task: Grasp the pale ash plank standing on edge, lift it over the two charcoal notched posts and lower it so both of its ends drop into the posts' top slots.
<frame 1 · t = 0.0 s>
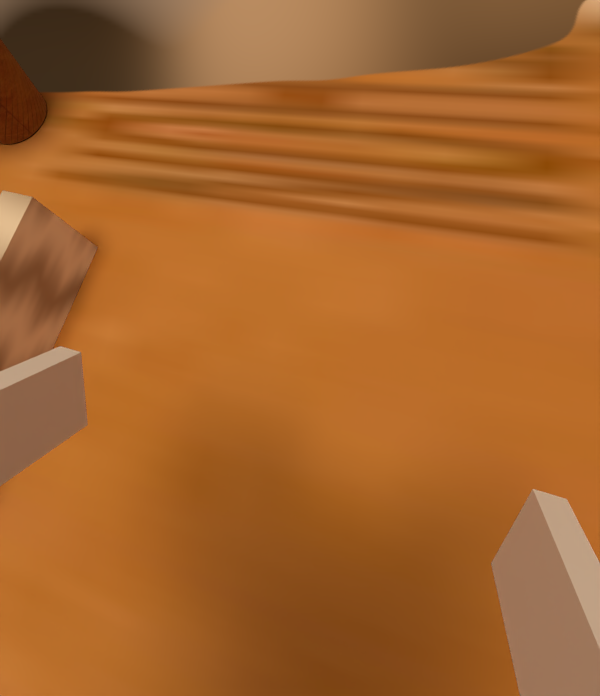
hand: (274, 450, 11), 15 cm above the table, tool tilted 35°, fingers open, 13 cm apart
disposable coffee cup: (19, 119, 36), on the table
ash rail plank: (26, 378, 30), on the table
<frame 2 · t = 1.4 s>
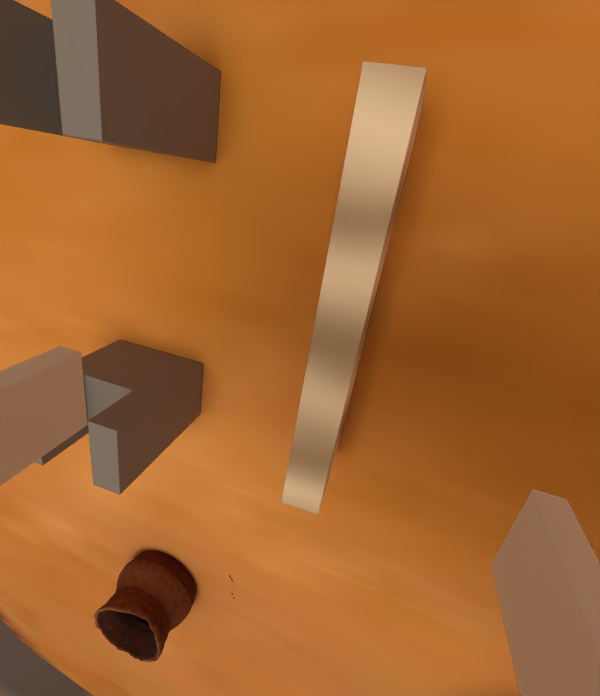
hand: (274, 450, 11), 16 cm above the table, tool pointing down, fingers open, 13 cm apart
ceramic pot: (168, 571, 43), on the table
headboard posts: (161, 263, 28), on the table
ash rail plank: (354, 307, 26), on the table
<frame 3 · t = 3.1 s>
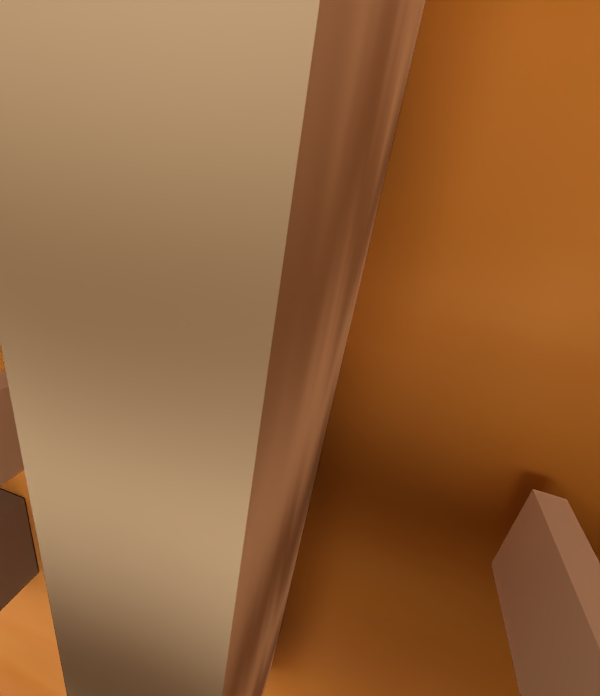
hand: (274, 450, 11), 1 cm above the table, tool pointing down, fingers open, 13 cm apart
ash rail plank: (284, 431, 12), on the table
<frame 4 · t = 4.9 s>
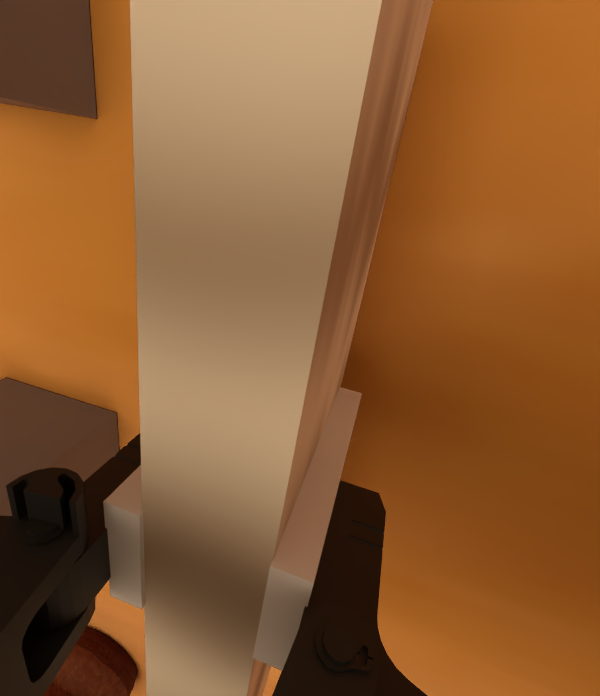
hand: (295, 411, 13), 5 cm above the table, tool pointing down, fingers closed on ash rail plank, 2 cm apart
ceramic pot: (104, 646, 35), on the table
headboard posts: (42, 274, 19), on the table
ash rail plank: (301, 400, 13), point 4 cm above the table, touching gripper
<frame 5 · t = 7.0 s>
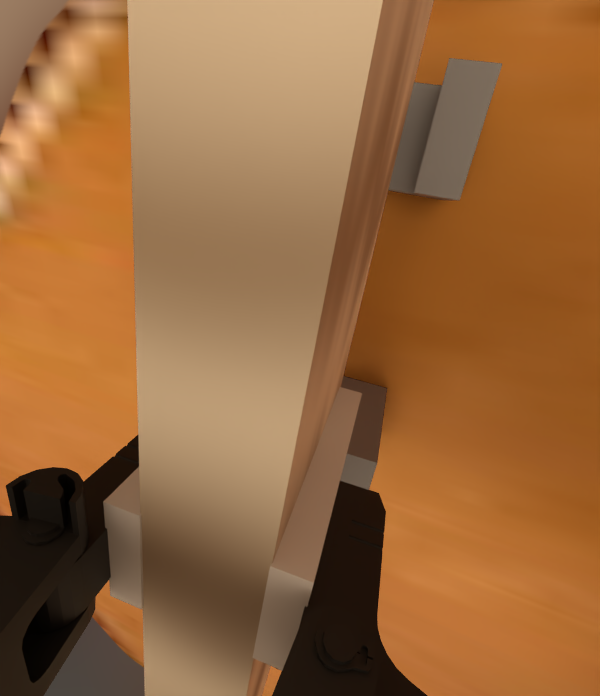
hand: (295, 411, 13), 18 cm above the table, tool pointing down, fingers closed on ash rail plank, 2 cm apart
headboard posts: (360, 292, 29), on the table
ash rail plank: (301, 399, 13), point 18 cm above the table, touching gripper
when the fingers open (6 cm above the table, at t = 9.1 s): ash rail plank stays where it is, resting on headboard posts.
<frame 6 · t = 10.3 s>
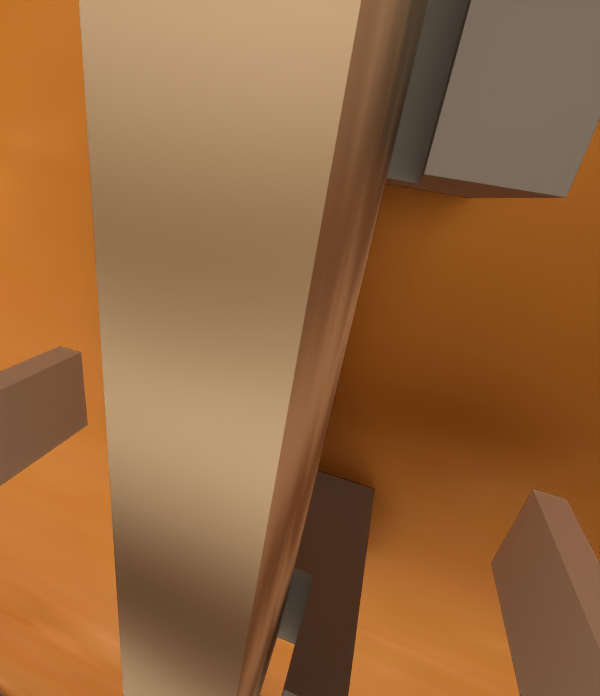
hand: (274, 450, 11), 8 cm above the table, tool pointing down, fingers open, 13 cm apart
headboard posts: (330, 347, 18), on the table
ash rail plank: (294, 405, 13), point 6 cm above the table, touching headboard posts
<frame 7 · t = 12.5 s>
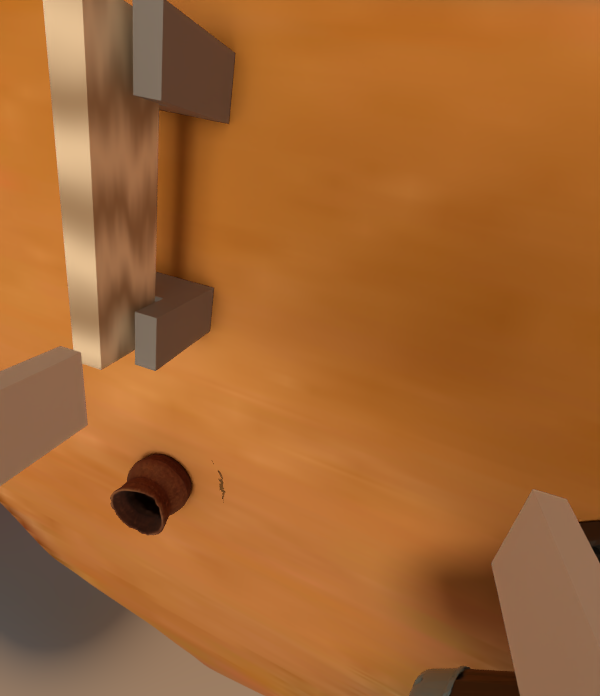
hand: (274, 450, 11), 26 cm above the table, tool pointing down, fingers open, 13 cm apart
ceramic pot: (168, 473, 53), on the table
headboard posts: (183, 204, 36), on the table
ash rail plank: (143, 204, 31), point 6 cm above the table, touching headboard posts
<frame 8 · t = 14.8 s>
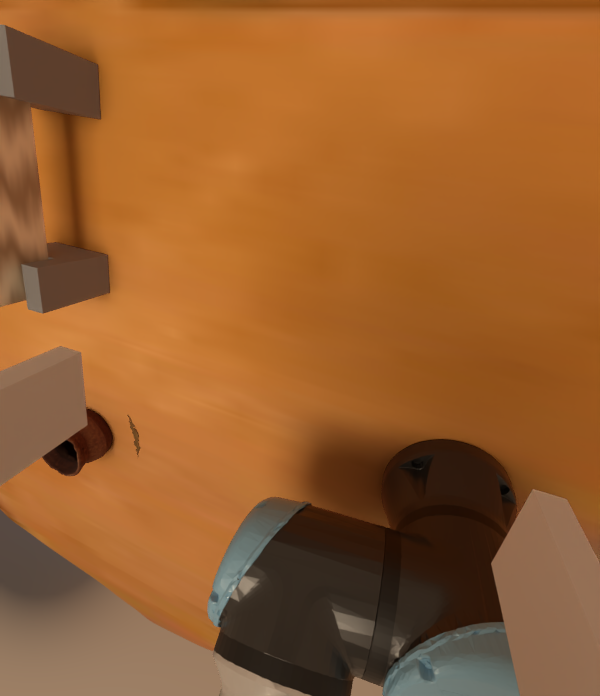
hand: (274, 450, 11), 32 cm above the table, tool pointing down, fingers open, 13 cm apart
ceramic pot: (94, 427, 61), on the table
headboard posts: (76, 186, 45), on the table
ash rail plank: (29, 182, 40), point 6 cm above the table, touching headboard posts
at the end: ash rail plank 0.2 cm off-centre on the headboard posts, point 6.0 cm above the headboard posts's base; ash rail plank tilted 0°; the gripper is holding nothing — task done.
